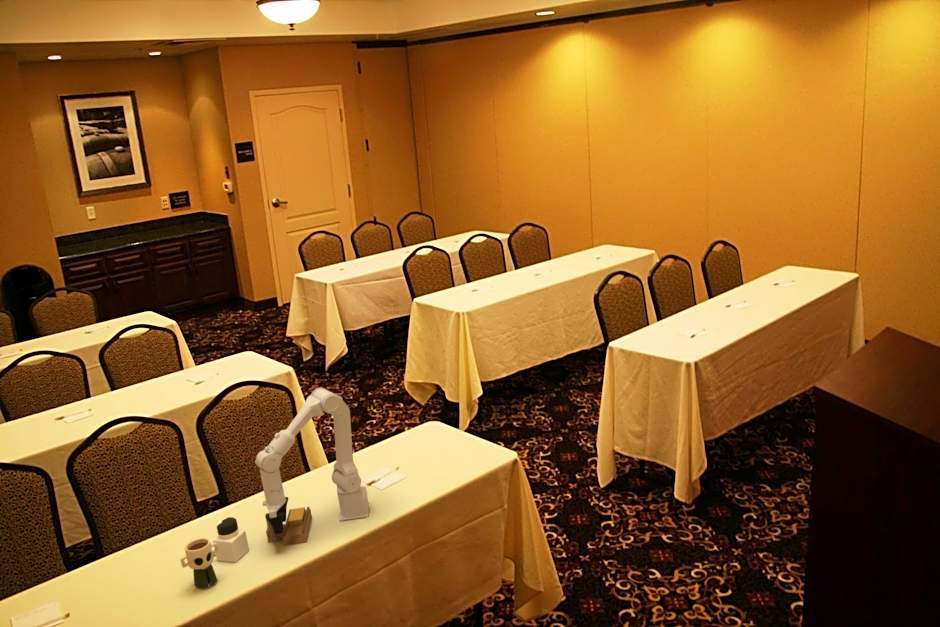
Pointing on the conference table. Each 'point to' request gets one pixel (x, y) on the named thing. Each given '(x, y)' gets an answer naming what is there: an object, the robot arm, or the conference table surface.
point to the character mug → (201, 561)
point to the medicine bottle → (230, 541)
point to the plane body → (293, 531)
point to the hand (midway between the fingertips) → (281, 527)
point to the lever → (271, 531)
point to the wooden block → (297, 517)
